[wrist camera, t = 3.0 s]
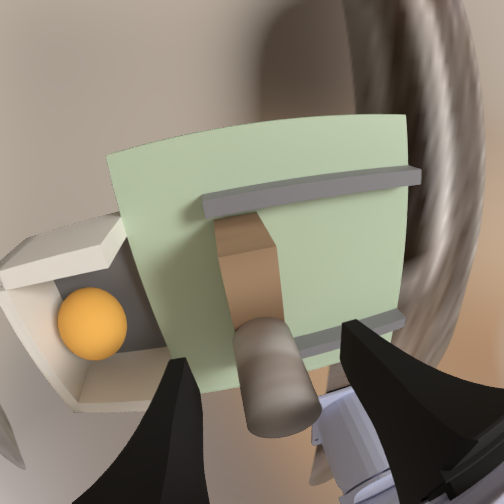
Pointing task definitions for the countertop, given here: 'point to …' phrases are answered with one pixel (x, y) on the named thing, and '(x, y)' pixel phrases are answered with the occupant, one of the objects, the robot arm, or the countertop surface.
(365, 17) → the countertop surface
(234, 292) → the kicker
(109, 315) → the ball
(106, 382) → the pitch
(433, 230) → the countertop surface
